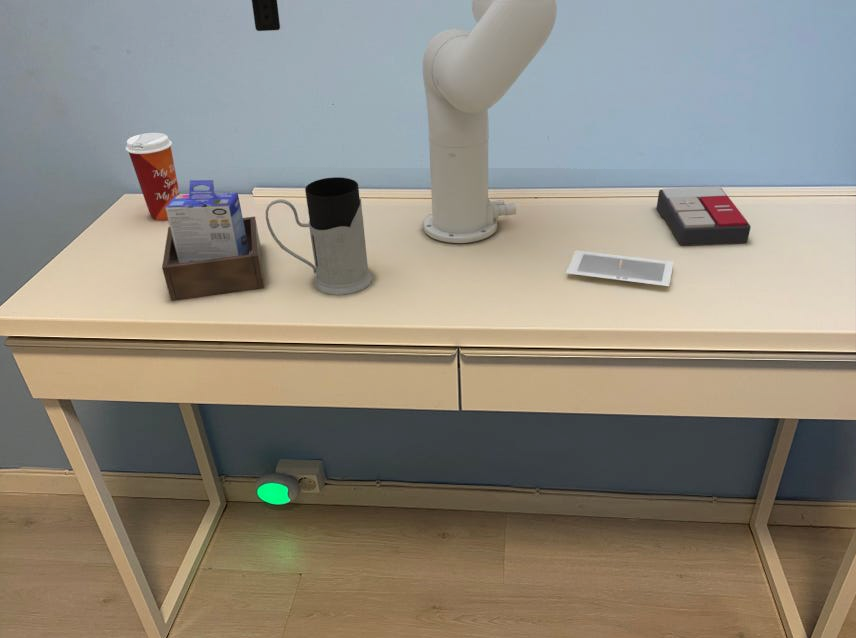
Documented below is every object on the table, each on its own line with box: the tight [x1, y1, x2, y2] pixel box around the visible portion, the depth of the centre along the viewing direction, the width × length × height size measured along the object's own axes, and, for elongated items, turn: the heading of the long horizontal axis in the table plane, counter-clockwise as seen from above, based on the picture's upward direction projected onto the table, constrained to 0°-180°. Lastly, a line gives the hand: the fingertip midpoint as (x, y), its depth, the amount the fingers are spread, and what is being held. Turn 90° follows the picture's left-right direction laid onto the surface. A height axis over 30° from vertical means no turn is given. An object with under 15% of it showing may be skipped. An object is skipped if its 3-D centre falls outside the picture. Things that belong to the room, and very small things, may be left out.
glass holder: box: [265, 176, 373, 296], centre depth 110 cm, size 9×14×15 cm, turn 99°
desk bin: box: [161, 216, 265, 302], centre depth 116 cm, size 14×15×6 cm
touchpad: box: [565, 250, 675, 287], centre depth 113 cm, size 8×15×2 cm, turn 71°
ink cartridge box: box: [165, 179, 251, 263], centre depth 114 cm, size 10×6×14 cm, turn 89°
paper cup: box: [125, 132, 181, 221], centre depth 134 cm, size 8×8×14 cm
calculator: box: [656, 186, 752, 247], centre depth 126 cm, size 11×4×15 cm
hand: (266, 23), depth 104 cm, fingers open, 9 cm apart
